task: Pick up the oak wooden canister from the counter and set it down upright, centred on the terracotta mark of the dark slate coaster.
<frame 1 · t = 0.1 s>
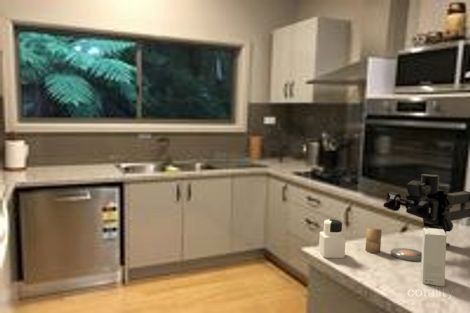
hand: (394, 208, 139), 17 cm above the countertop, tool horizontal, fingers open, 9 cm apart
coaster: (407, 255, 140), on the countertop
skincare box: (431, 280, 120), on the countertop
oak canister: (372, 250, 144), on the countertop
medicine bottle: (331, 255, 140), on the countertop
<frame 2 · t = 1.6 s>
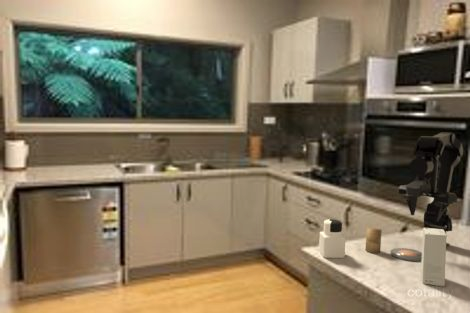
hand: (424, 218, 140), 13 cm above the countertop, tool pointing down, fingers open, 9 cm apart
nothing on the countertop moved.
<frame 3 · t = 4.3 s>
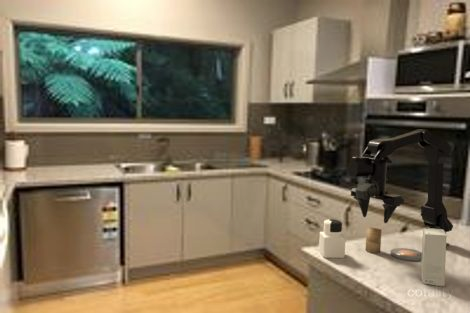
hand: (374, 219, 143), 11 cm above the countertop, tool pointing down, fingers open, 9 cm apart
nothing on the countertop moved.
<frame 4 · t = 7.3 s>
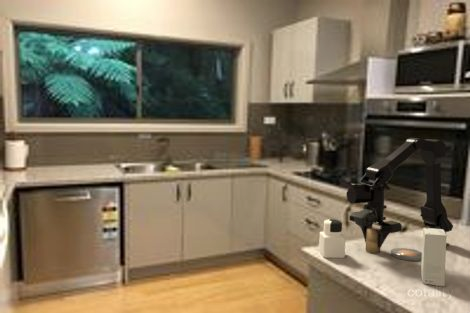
hand: (373, 245, 144), 2 cm above the countertop, tool pointing down, fingers closed on oak canister, 5 cm apart
oak canister: (372, 250, 144), on the countertop, touching gripper
everything else where it was.
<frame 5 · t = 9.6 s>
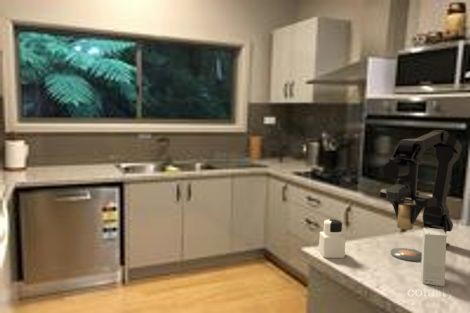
hand: (405, 221, 140), 12 cm above the countertop, tool pointing down, fingers closed on oak canister, 5 cm apart
oak canister: (404, 227, 140), point 10 cm above the countertop, touching gripper
everything else where it was.
when the fingers open (4 cm above the countertop, at t = 12.3 s): oak canister drops 2 cm, resting on coaster.
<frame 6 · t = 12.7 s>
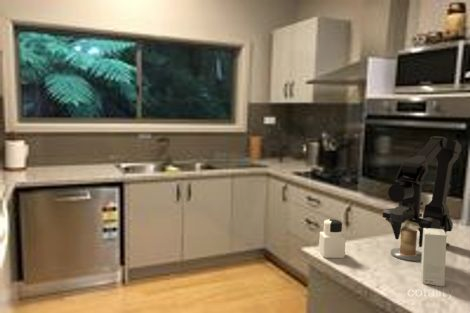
hand: (408, 242, 140), 4 cm above the countertop, tool pointing down, fingers open, 9 cm apart
oak canister: (407, 253, 140), point 1 cm above the countertop, touching coaster
everything else where it was.
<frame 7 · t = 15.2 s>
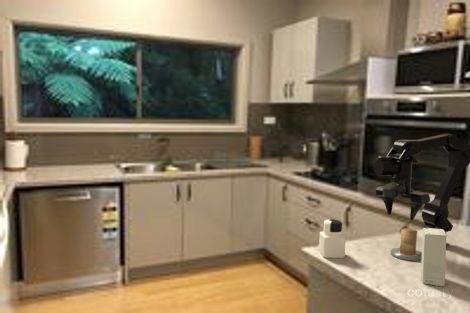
hand: (400, 217, 148), 11 cm above the countertop, tool pointing down, fingers open, 9 cm apart
nothing on the countertop moved.
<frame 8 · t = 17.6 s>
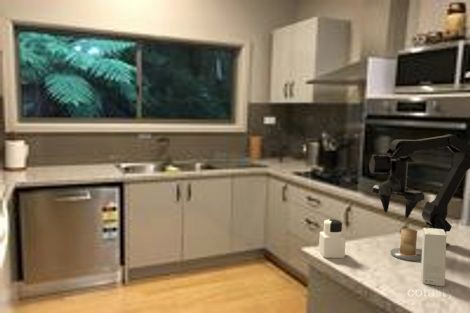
hand: (396, 215, 152), 11 cm above the countertop, tool pointing down, fingers open, 9 cm apart
nothing on the countertop moved.
at the end: oak canister 0.0 cm from the coaster (horizontally); oak canister tilted 0°; oak canister touching coaster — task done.
